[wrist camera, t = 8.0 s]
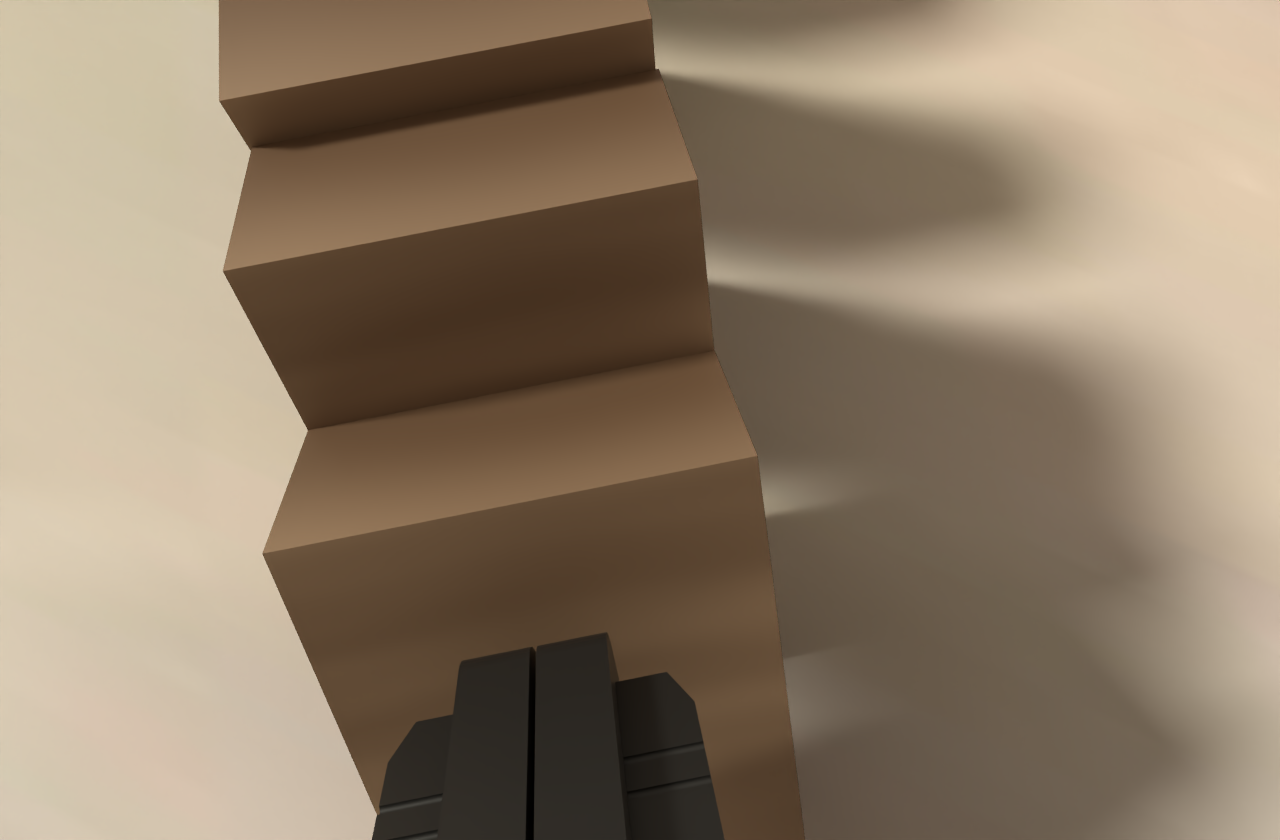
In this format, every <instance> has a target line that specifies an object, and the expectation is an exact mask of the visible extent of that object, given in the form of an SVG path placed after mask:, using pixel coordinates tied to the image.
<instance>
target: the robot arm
mask: <svg viewBox="0 0 1280 840" xmlns="http://www.w3.org/2000/svg"><path fill="white" fill-rule="evenodd" d="M379 809H380V814H379V815H377V817H376V822H375V827H374V832H373V837H372V840H725V839H724V834H723V830H722V825H721V820H720V816H719V811H718V807H717V802H716V797H715V793H714V788H713V784H712V779H711V774H710V770H709V765H708V760H707V756H706V751H705V747H704V742H703V737H702V733H701V728H700V724H699V719H698V714H697V710H696V705H695V701H694V700H693V699H692V698H691V697H690V696H689V695H688V694H687V693H686V692H685V691H684V689H683V688H682V687H681V686H680V685H679V684H678V683H677V682H676V681H675V680H674V679H673V678H672V677H671V676H670V675H669V674H668V673H667V672H663V673H658V674H653V675H648V676H643V677H638V678H633V679H628V680H623V681H619V677H618V673H617V668H616V664H615V659H614V655H613V651H612V646H611V642H610V639H609V635H608V633H607V632H604V633H599V634H594V635H589V636H584V637H579V638H574V639H569V640H564V641H559V642H554V643H549V644H544V645H539V646H537V649H536V651H535V649H534V648H533V647H528V648H523V649H518V650H513V651H508V652H503V653H498V654H493V655H488V656H483V657H478V658H473V659H468V660H463V661H461V663H460V666H459V671H458V679H457V686H456V694H455V702H454V710H453V714H452V715H447V716H442V717H437V718H432V719H427V720H422V721H417V722H416V723H415V724H414V725H413V727H412V728H411V730H410V731H409V733H408V734H407V736H406V737H405V738H404V740H403V741H402V743H401V744H400V746H399V747H398V749H397V750H396V751H395V753H394V754H393V756H392V757H391V759H390V760H389V762H388V764H387V769H386V774H385V778H384V783H383V788H382V793H381V798H380V803H379Z"/></svg>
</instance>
